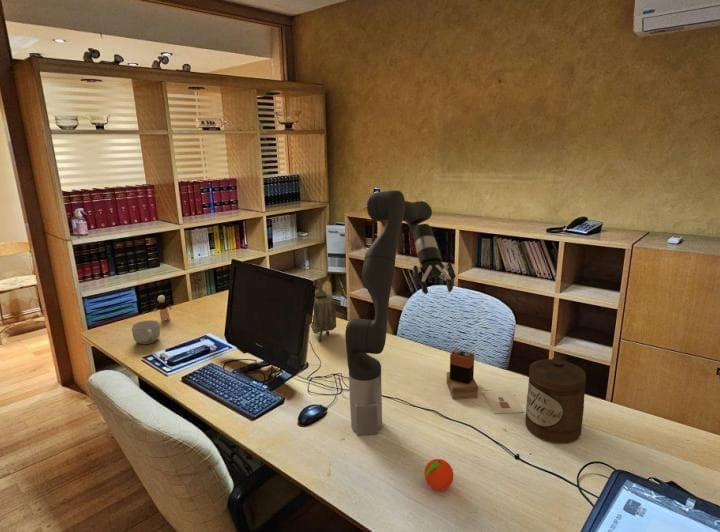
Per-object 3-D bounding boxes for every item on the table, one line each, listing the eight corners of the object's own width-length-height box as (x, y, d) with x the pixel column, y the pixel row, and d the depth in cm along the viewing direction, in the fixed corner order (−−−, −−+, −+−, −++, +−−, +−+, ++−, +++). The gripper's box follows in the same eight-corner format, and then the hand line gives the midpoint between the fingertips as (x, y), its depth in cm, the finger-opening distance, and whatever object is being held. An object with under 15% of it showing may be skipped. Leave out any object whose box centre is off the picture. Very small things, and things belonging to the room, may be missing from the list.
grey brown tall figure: (309, 330, 207) (305, 276, 200) (329, 327, 209) (326, 273, 202) (316, 344, 193) (312, 286, 186) (337, 340, 196) (334, 283, 189)
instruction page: (523, 412, 143) (523, 411, 143) (493, 413, 143) (493, 412, 142) (510, 391, 154) (510, 390, 154) (482, 392, 154) (482, 391, 154)
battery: (454, 373, 159) (454, 346, 156) (473, 378, 155) (474, 351, 152) (449, 379, 155) (449, 351, 152) (469, 384, 151) (470, 356, 149)
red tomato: (435, 503, 109) (435, 477, 107) (415, 486, 115) (415, 461, 113) (459, 488, 114) (460, 463, 112) (438, 472, 119) (438, 448, 117)
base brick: (477, 397, 151) (478, 386, 150) (452, 398, 151) (453, 387, 150) (469, 381, 161) (470, 371, 160) (446, 382, 161) (446, 372, 160)
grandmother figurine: (171, 317, 227) (167, 292, 223) (174, 319, 224) (170, 294, 221) (155, 321, 222) (150, 296, 219) (157, 324, 219) (153, 298, 216)
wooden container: (514, 419, 139) (518, 352, 133) (554, 408, 144) (560, 342, 138) (550, 450, 126) (557, 376, 120) (593, 436, 131) (601, 364, 125)
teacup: (134, 339, 204) (131, 322, 202) (161, 334, 208) (158, 317, 206) (134, 352, 192) (131, 333, 190) (163, 346, 196) (160, 328, 194)
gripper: (410, 247, 164) (421, 289, 156) (449, 244, 166) (461, 285, 159) (406, 258, 170) (416, 299, 163) (443, 255, 173) (455, 295, 165)
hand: (438, 292), depth 161 cm, fingers open, 8 cm apart
